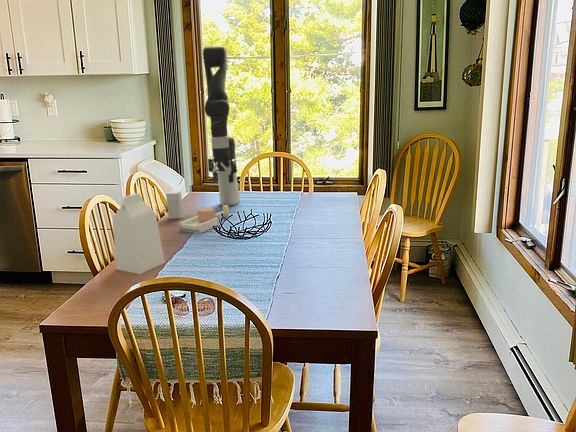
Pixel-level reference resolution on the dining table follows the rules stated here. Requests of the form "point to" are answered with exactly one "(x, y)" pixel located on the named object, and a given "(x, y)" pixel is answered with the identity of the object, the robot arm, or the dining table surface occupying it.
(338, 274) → the dining table surface
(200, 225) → the shelf lane
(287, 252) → the dining table surface
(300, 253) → the dining table surface
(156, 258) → the milk
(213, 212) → the peach block with knob
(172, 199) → the skincare box
